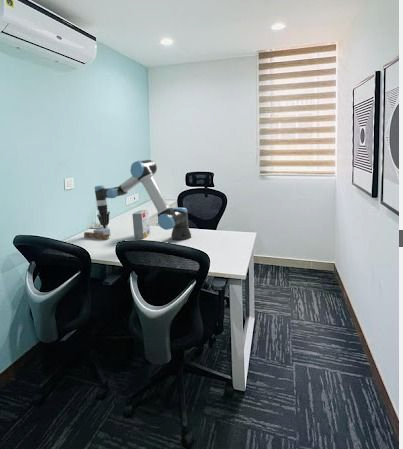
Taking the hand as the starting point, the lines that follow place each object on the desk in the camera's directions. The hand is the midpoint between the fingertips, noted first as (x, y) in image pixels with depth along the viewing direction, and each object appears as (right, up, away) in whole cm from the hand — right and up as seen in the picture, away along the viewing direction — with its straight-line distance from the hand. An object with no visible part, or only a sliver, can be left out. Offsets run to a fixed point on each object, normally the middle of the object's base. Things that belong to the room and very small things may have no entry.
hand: (106, 232), depth 275 cm
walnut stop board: (-5, -4, -9) cm, 11 cm away
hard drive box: (+32, -3, -12) cm, 34 cm away
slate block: (-2, -3, -5) cm, 6 cm away
